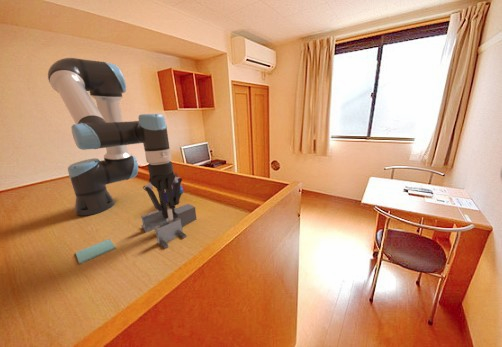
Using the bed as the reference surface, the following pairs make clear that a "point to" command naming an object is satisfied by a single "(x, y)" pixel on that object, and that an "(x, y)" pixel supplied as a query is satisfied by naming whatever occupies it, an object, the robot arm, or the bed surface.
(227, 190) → the bed surface
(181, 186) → the toy character
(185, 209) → the grey rectangular block
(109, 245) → the mat
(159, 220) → the channel
